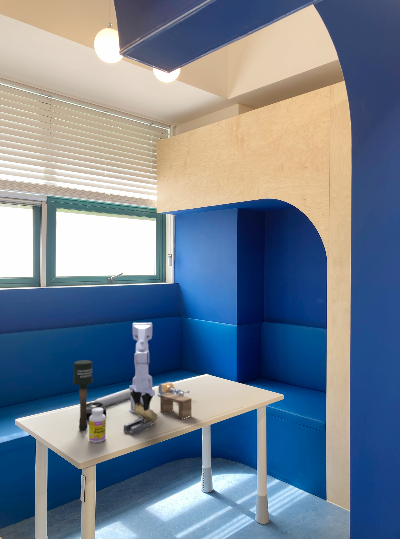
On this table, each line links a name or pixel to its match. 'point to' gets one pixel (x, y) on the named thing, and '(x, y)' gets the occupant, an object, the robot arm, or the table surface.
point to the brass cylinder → (144, 412)
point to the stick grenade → (83, 387)
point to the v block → (137, 426)
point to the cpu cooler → (94, 405)
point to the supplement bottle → (97, 426)
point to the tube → (115, 397)
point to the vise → (170, 389)
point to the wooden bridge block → (169, 398)
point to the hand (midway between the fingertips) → (141, 408)
